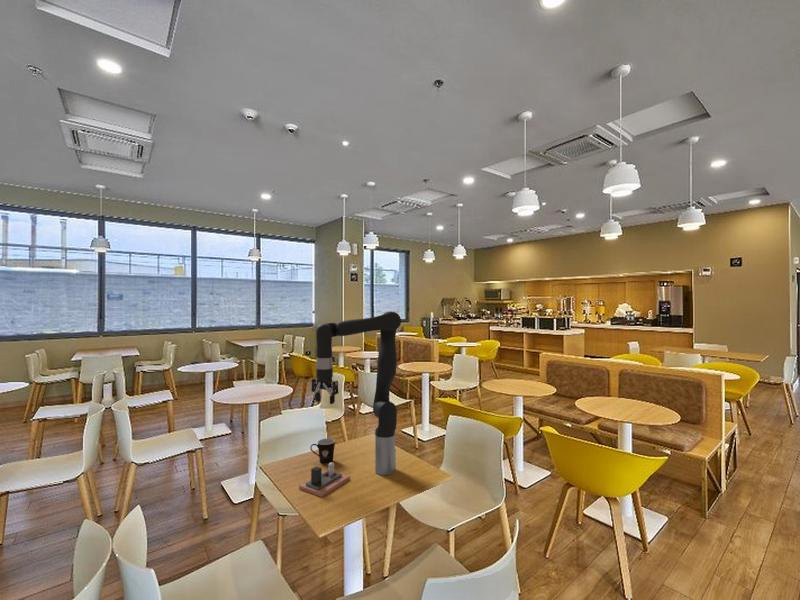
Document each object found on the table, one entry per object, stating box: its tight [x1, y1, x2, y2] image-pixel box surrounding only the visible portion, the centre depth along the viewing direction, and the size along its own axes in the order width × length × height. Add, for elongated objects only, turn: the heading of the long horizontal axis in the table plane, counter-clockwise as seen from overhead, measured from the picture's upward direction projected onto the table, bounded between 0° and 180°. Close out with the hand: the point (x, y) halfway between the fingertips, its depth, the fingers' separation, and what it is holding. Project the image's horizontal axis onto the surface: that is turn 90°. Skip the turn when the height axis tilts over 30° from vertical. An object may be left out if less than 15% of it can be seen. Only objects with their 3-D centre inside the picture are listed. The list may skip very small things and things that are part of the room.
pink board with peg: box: [298, 462, 351, 498], centre depth 162 cm, size 18×13×8 cm
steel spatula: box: [306, 466, 343, 490], centre depth 161 cm, size 15×7×7 cm, turn 149°
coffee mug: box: [309, 438, 336, 465], centre depth 186 cm, size 12×9×10 cm
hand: (324, 402), depth 170 cm, fingers open, 8 cm apart
